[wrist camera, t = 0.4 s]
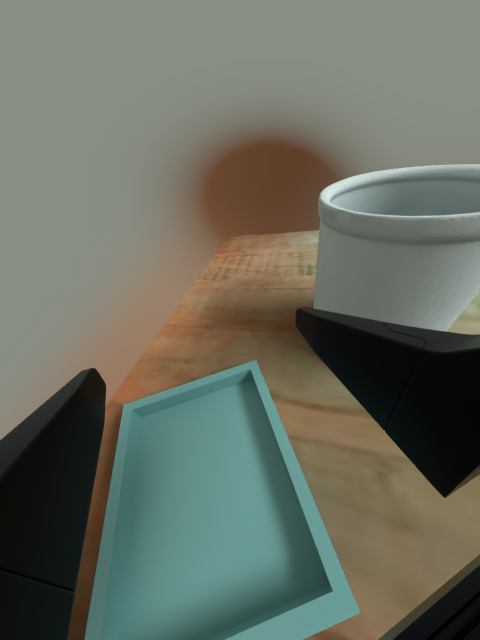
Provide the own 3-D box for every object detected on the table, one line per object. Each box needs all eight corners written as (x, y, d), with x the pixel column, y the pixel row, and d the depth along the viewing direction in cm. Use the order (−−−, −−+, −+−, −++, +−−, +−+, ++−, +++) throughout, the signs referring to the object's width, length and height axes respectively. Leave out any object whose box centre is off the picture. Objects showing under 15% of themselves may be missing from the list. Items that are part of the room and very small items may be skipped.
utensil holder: (328, 288, 36) (346, 168, 24) (437, 312, 28) (544, 153, 16) (291, 347, 28) (291, 214, 16) (426, 401, 21) (613, 224, 9)
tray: (349, 600, 13) (360, 613, 11) (104, 711, 12) (66, 748, 10) (258, 373, 26) (255, 359, 24) (137, 414, 25) (123, 404, 23)
